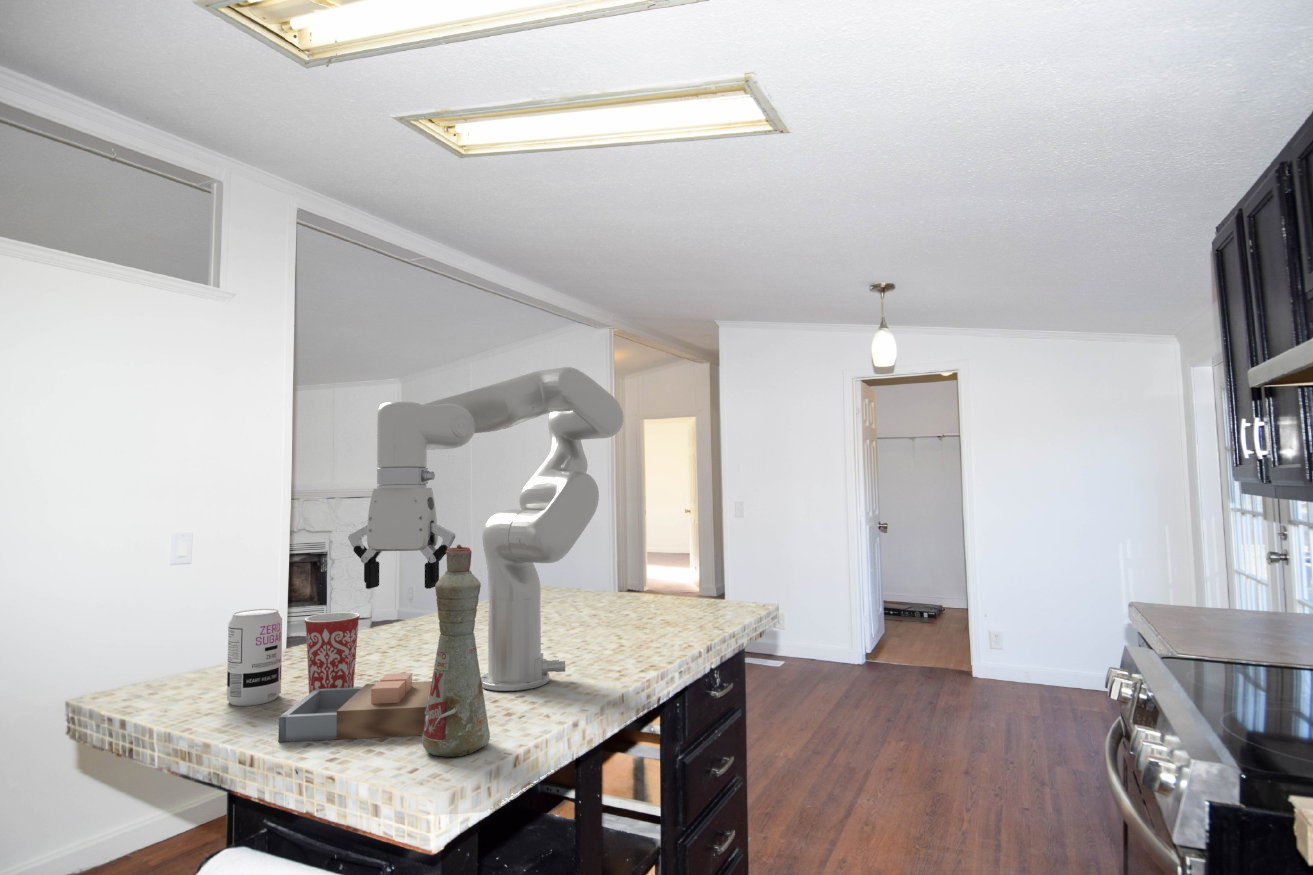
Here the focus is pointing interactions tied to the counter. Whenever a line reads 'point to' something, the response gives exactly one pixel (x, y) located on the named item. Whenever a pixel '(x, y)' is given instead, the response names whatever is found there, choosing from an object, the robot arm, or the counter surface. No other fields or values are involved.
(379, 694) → the tile
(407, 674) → the tile
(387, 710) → the brown square platform
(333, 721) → the box
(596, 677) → the counter surface
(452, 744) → the bottle
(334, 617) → the mug
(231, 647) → the supplement can
